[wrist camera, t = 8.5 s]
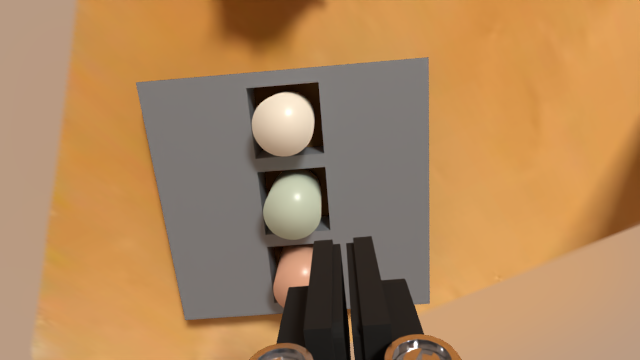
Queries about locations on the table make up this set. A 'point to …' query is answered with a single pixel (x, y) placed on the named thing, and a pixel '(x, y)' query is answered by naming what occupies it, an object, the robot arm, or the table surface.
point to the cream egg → (284, 123)
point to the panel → (251, 164)
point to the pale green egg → (293, 204)
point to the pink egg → (292, 270)
